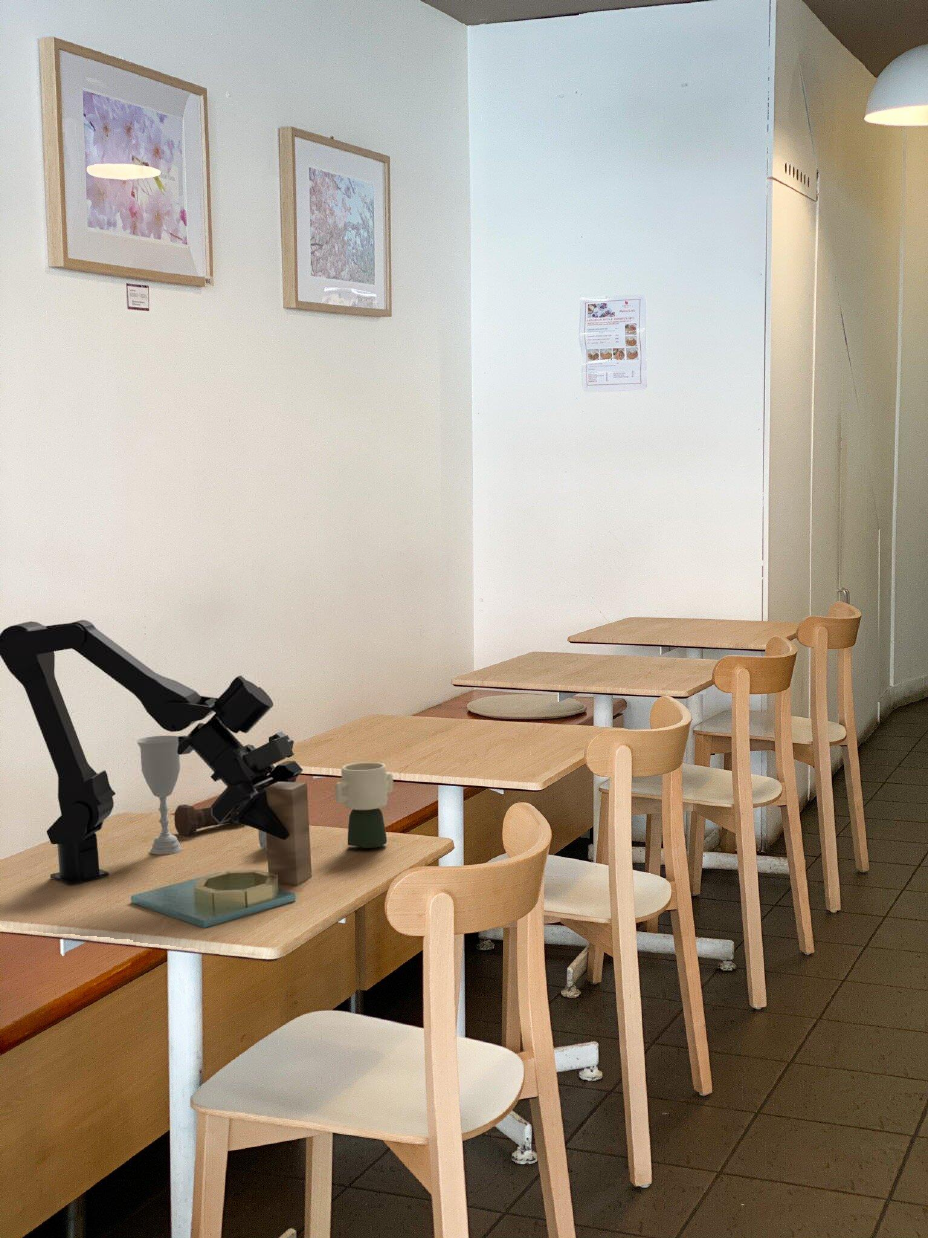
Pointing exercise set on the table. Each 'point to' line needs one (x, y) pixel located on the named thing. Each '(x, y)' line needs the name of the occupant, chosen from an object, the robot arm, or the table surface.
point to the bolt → (196, 819)
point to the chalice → (161, 782)
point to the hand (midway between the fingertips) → (296, 832)
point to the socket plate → (196, 911)
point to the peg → (290, 833)
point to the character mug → (365, 801)
